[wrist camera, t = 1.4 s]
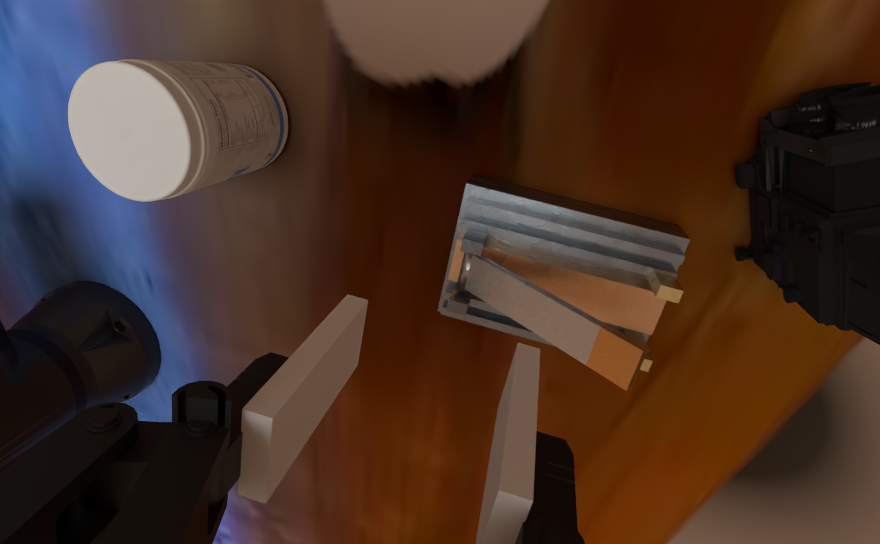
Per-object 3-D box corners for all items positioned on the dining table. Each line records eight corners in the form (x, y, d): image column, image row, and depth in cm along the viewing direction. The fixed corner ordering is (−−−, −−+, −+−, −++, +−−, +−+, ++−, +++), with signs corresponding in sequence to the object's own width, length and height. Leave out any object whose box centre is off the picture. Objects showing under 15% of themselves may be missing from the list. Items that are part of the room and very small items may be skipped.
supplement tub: (226, 180, 50) (107, 220, 37) (182, 83, 48) (36, 88, 34) (309, 151, 47) (213, 183, 34) (267, 46, 45) (145, 36, 31)
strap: (463, 284, 42) (453, 286, 42) (472, 244, 41) (462, 246, 40) (631, 389, 33) (623, 395, 32) (652, 343, 31) (643, 347, 31)
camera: (875, 69, 36) (1201, 67, 18) (871, 246, 41) (1131, 390, 22) (722, 103, 39) (870, 131, 21) (732, 266, 43) (863, 408, 25)
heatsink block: (445, 293, 50) (424, 337, 42) (473, 174, 45) (455, 197, 37) (629, 344, 48) (645, 400, 40) (678, 225, 43) (708, 261, 35)
